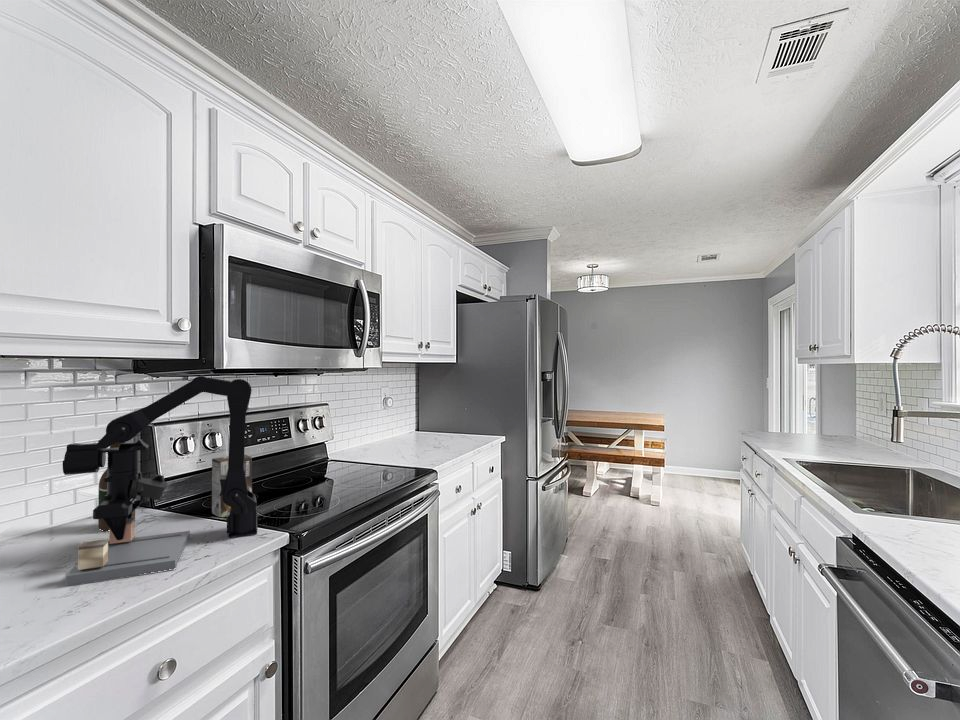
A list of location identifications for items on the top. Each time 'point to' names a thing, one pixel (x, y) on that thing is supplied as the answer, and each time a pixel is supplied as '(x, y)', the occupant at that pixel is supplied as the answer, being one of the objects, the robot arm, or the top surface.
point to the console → (135, 558)
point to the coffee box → (220, 469)
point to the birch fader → (92, 554)
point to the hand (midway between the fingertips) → (122, 537)
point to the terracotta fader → (127, 535)
